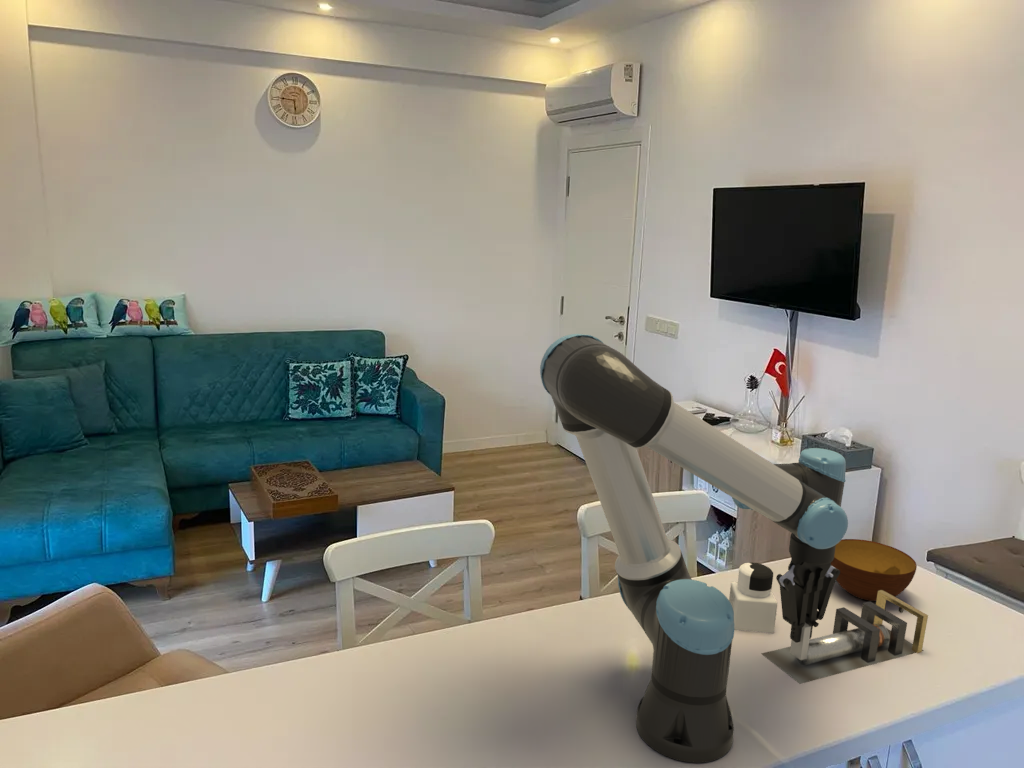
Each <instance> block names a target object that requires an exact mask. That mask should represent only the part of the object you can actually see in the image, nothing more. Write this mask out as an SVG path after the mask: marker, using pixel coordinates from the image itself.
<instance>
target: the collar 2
mask: <svg viewBox="0 0 1024 768" xmlns="http://www.w3.org/2000/svg"><path fill="white" fill-rule="evenodd" d="M875 616H877V617H879V618H880V619H882V620H883V621H884V622H886V623H888V624H889V625H891V629H890V631H891V635H890V641H889V647H888V652H890V653H891V654H893V655H894V656H895V655H899V654H902V651H903V645H904V639H905V640H906V633H907V627H908V622H907V621H905V620H903V619H902V618H900V617H898V616H896V615H894V614H893V613H891V612H890V611H888V610H886V609H885V610H884V609H883V608H881V607H879V606H877V605H876V603H874V602H873V601H867V602H862V607H861V613H860V617H861V618H862V619H864V620H866V621H867V622H869V623H871V624H874V618H875Z"/></svg>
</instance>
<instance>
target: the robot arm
mask: <svg viewBox="0 0 1024 768" xmlns="http://www.w3.org/2000/svg"><path fill="white" fill-rule="evenodd" d="M539 368H540V369H539V372H540V373H539V374H540V379H541V384H542V386H543V388H544V390H546V393H547V394H549V395H550V397H551V399H552V402H553V404H554V407H555V409H556V412H557V415H558V418H559V420H560V423H561V426H562V428H563V430H564V431H565V432H567V433H568V434H570V435H574V436H575V437H576V439H577V442H578V445H579V448H580V450H581V452H582V453H581V454H582V455H583V458H584V462H585V465H586V468H587V470H588V473H589V475H590V478H591V480H592V484H593V485H594V489H595V492H596V495H597V497H598V500H599V502H600V505H601V508H602V510H603V511H602V512H603V513H604V516H605V519H606V522H607V524H608V527H609V530H610V532H611V535H612V538H613V541H614V543H615V546H616V549H617V551H618V552H617V553H618V556H617V557H616V560H615V562H614V570H615V572H616V575H617V585H618V589H619V594H620V597H621V599H622V601H623V603H624V605H625V606H626V608H627V609H628V610H629V611H630V612H631V614H632V615H633V618H635V620H636V621H637V624H639V625H640V627H641V629H642V630H643V631H644V633H645V635H646V637H647V638H648V639H649V641H650V643H651V644H652V648H653V649H652V651H653V653H652V662H651V663H652V664H651V676H650V680H649V682H648V685H647V687H646V689H645V693H644V695H643V696H642V697H641V699H640V700H639V703H638V706H637V711H636V720H635V722H636V723H635V725H636V730H637V732H638V734H639V736H640V738H641V739H642V740H643V741H644V742H645V743H646V744H647V745H648V746H649V747H651V749H653V750H654V751H656V752H658V753H659V754H661V755H664V757H668V758H671V759H673V760H676V761H681V762H685V763H695V764H697V763H699V764H700V763H701V764H702V763H708V762H712V761H715V760H719V759H720V758H722V757H724V756H725V755H727V754H728V752H729V751H730V750H731V747H732V745H733V739H734V731H735V730H734V729H735V728H734V721H733V718H732V713H731V709H730V706H729V700H728V697H727V687H728V679H729V671H730V663H731V662H730V661H731V656H732V645H733V639H734V636H735V629H734V611H733V607H732V605H731V603H730V601H729V598H728V597H727V596H726V594H724V593H723V592H722V591H721V590H720V589H718V588H716V587H714V586H713V585H712V586H708V584H707V583H706V582H705V581H704V582H703V581H701V580H697V579H696V580H695V579H692V577H691V575H690V573H689V570H688V567H687V564H686V562H685V561H686V560H685V557H684V556H683V555H684V554H683V552H682V549H681V547H680V545H679V544H678V543H677V542H676V541H674V540H671V539H669V538H668V537H667V534H666V531H665V528H664V524H663V521H662V519H661V517H660V514H659V510H658V507H657V505H656V501H655V499H654V496H653V492H652V490H651V487H650V484H649V482H648V478H647V475H646V472H645V469H644V466H643V463H642V461H641V458H640V454H639V452H638V449H643V448H645V447H647V448H648V449H650V450H652V451H653V452H655V453H657V454H659V455H660V456H661V457H663V458H665V459H667V460H668V461H670V462H671V463H673V464H676V465H677V466H679V467H680V468H682V469H684V470H685V471H687V472H688V473H690V474H691V475H694V476H695V477H697V478H699V479H701V480H703V481H704V482H706V483H708V484H709V485H711V486H712V487H714V488H716V489H717V490H719V491H721V492H723V493H724V494H726V495H728V496H729V497H730V498H731V499H732V501H733V503H734V504H735V505H736V507H738V508H739V509H742V510H751V511H755V512H757V513H759V514H760V515H762V516H763V517H766V519H768V520H770V521H772V522H773V523H774V524H775V525H778V526H779V527H782V528H783V529H785V530H787V531H788V532H790V538H789V544H788V545H789V547H788V552H789V554H790V562H789V563H788V566H787V567H788V568H787V569H788V570H787V571H786V572H785V573H784V574H783V575H782V574H781V573H778V574H777V575H776V578H775V579H776V581H777V584H778V585H779V590H780V592H779V593H780V603H781V612H782V619H783V620H784V621H785V622H786V623H788V624H790V625H791V627H790V633H789V634H790V635H789V638H790V640H791V641H790V643H791V644H790V646H791V648H790V653H792V654H793V655H794V656H796V657H797V658H798V659H800V660H804V659H807V654H808V646H809V640H810V639H812V636H813V627H814V628H817V627H818V626H819V625H820V622H817V620H819V621H822V620H823V619H824V616H825V614H826V611H827V607H828V606H829V605H828V604H829V602H830V599H831V598H830V597H831V595H832V592H833V589H834V585H835V584H836V583H835V582H837V581H836V579H837V578H838V576H839V574H840V570H838V569H836V568H835V567H833V566H831V562H832V561H833V560H834V555H835V547H836V544H838V543H839V542H840V541H841V540H842V539H843V538H844V536H845V535H846V533H847V530H848V527H849V520H848V515H847V513H846V512H845V511H846V510H844V508H843V507H842V500H843V494H844V487H845V482H846V473H847V471H846V470H847V466H846V464H847V463H846V459H845V457H844V456H843V455H842V454H841V453H839V452H836V451H834V450H830V449H828V448H827V449H826V448H819V447H812V448H811V447H809V448H806V449H803V450H802V451H801V452H800V454H799V458H798V462H792V463H773V462H770V461H769V460H767V459H765V458H764V457H763V456H761V455H759V454H758V453H756V452H754V451H753V450H751V449H750V448H748V447H747V446H745V445H743V444H742V443H740V442H739V441H736V440H735V439H734V438H732V437H730V436H729V435H727V434H726V433H724V432H722V431H721V430H720V429H718V428H716V427H715V426H713V425H711V424H710V423H708V422H706V421H705V420H703V419H702V418H700V417H698V416H697V415H695V414H694V413H692V412H691V411H689V410H687V409H686V408H684V407H682V406H680V405H679V404H677V403H676V402H674V395H673V394H672V392H671V391H670V390H668V389H667V388H665V387H663V386H662V385H661V384H659V383H658V382H656V381H655V380H653V379H652V378H651V377H650V376H648V375H647V374H646V373H645V372H643V371H642V370H641V369H640V368H639V367H638V366H637V365H636V364H635V363H633V362H632V361H631V360H630V359H629V358H627V357H626V356H625V355H624V354H623V353H621V352H620V351H618V350H617V349H615V348H613V347H611V346H610V345H607V344H606V343H604V342H603V341H602V340H601V339H599V338H598V337H596V336H593V335H591V334H583V333H571V334H567V335H565V336H561V337H560V338H558V339H556V340H555V341H554V342H553V343H551V344H550V345H549V346H548V348H547V349H546V351H545V352H544V354H543V356H542V358H541V362H540V367H539Z"/></svg>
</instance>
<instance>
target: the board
mask: <svg viewBox="0 0 1024 768" xmlns="http://www.w3.org/2000/svg"><path fill="white" fill-rule="evenodd" d="M887 630H888V632H889V635H891V629H889V628H887ZM889 641H890V640H889ZM912 646H913V642H910V641H909V640H907V639H906V638H905V639H904V645H903V651H902V654H899V655H895V656H894V655H893V654H891V653H890V652H888V647H889V642H888V643H887V644H886V645H882V646H880V647H877V653H876V659H875V661H873V662H869V663H867V662H865V661H864V660H862V659H861V654H862V651H858V652H854V653H851V654H847V655H843V656H839V657H835V658H831V659H827V660H823V661H819V662H816V663H812V664H808V665H802V664H800V663H799V662H798V661H797V659H796V657H795V656H794V655H793V654H792V653H790V648H791V645H790V646H787V647H783V648H779V649H774V650H771V651H766V652H761V653H760V654H761V655H762V656H763V657H765V658H766V659H767V660H769V662H771V663H772V664H774V665H775V666H776V667H778V668H779V669H780V670H781V671H782V672H784V673H785V674H787V676H789V677H790V678H791V679H793V680H794V681H796V682H797V683H798V684H799V685H803V684H805V683H810V682H813V681H816V680H820V679H821V680H822V679H824V678H828V677H832V676H835V675H838V674H842V673H847V672H850V671H853V670H858V669H861V668H865V667H869V666H873V665H876V664H879V663H883V662H887V661H892V660H895V659H899V658H903V657H906V656H909V655H913V654H917V653H916V652H914V651H912ZM922 652H924V650H923V649H922Z"/></svg>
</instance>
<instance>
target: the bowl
mask: <svg viewBox="0 0 1024 768" xmlns="http://www.w3.org/2000/svg"><path fill="white" fill-rule="evenodd" d="M831 566H833V567H835V568H836V569H838V570H840V574H839V576H838V578H837V579H836V581H835V582H837V584H838V585H839V586H840V587H841V589H843V590H845V591H846V592H847V593H848V594H850V595H852V596H854V597H856V598H857V599H861V600H865V601H867V602H870V601H871V602H876V600H877V594H878V591H880V590H883V591H885V592H887V593H889V594H891V595H892V596H894V597H896V598H897V596H899V595H900V594H901V593H903V592H904V591H905V590H906V589H907V588H908V587H909V585H910V584H911V582H913V579H914V577H915V574H916V572H917V567H918V566H917V562H916V561H915V559H914V558H912V556H910V555H909V554H908V553H906V552H904V551H902V550H900V549H898V548H896V547H893V546H892V545H891V546H890V545H888V544H884V543H881V542H877V541H871V540H865V539H858V538H857V539H856V538H844V539H843V538H842V539H841V541H840V542H839V543H838V544H836V547H835V555H834V560H833V561H832V562H831Z"/></svg>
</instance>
